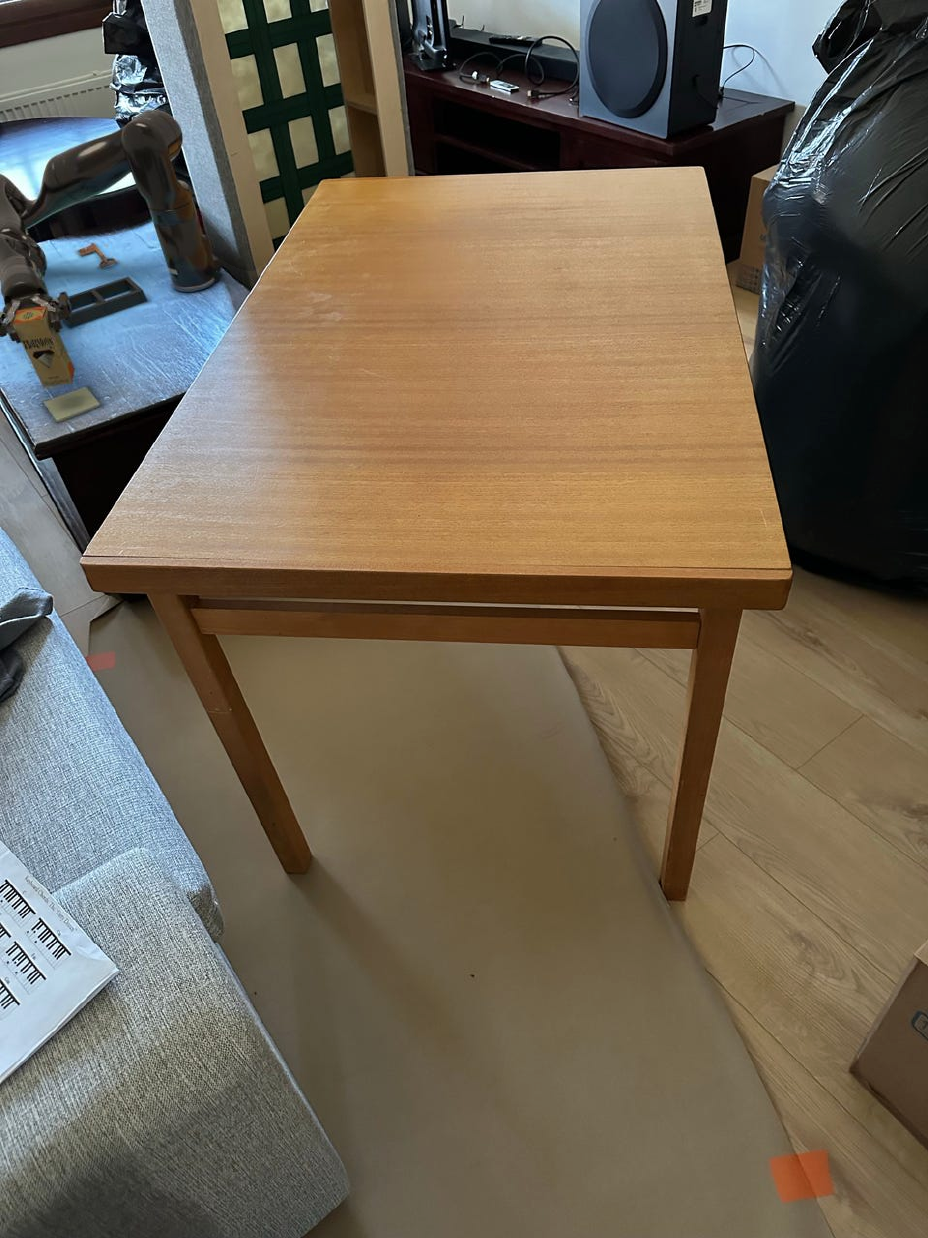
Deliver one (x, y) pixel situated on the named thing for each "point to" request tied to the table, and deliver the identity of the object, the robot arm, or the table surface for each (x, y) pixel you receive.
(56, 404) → the mat
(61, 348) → the shoe polish box
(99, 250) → the key
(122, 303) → the holder
